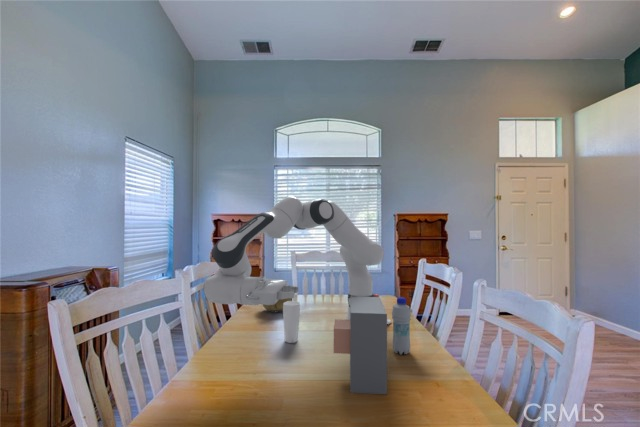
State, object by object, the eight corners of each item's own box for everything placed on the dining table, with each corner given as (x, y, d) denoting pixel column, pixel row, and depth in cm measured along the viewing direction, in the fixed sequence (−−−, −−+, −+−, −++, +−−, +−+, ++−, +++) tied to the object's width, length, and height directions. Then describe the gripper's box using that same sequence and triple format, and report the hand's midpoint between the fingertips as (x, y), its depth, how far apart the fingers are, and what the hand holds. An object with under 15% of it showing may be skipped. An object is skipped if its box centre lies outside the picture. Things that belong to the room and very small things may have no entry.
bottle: (411, 350, 117) (411, 296, 118) (410, 357, 111) (410, 300, 111) (392, 347, 119) (392, 294, 120) (390, 354, 113) (390, 298, 114)
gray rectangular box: (350, 392, 88) (350, 312, 88) (350, 361, 107) (350, 296, 108) (386, 394, 87) (386, 313, 87) (379, 362, 107) (379, 297, 107)
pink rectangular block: (333, 353, 94) (333, 328, 94) (334, 341, 103) (334, 319, 103) (350, 353, 93) (350, 329, 93) (350, 342, 102) (350, 319, 103)
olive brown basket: (267, 304, 180) (267, 278, 181) (296, 306, 178) (296, 279, 179) (254, 316, 158) (255, 286, 159) (287, 317, 156) (288, 287, 157)
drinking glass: (297, 345, 121) (297, 305, 122) (280, 343, 123) (280, 304, 123) (301, 338, 128) (301, 301, 128) (285, 337, 129) (286, 300, 130)
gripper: (243, 287, 91) (290, 288, 90) (262, 275, 111) (301, 276, 110) (242, 309, 91) (290, 311, 89) (262, 293, 111) (301, 295, 110)
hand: (296, 292), depth 100 cm, fingers open, 6 cm apart
